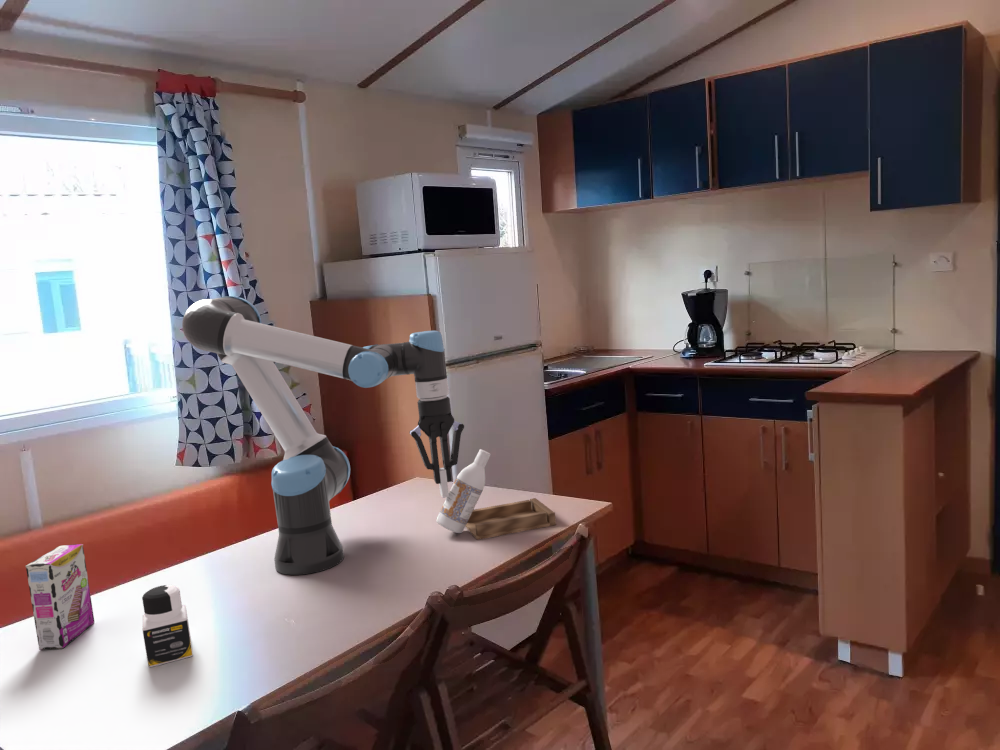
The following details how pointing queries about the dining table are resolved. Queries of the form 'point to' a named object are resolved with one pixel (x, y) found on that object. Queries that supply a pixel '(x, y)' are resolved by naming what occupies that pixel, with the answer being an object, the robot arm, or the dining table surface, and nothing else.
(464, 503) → the bath foam
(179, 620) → the medicine bottle
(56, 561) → the candy bar box
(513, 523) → the wooden tray
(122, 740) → the dining table surface
